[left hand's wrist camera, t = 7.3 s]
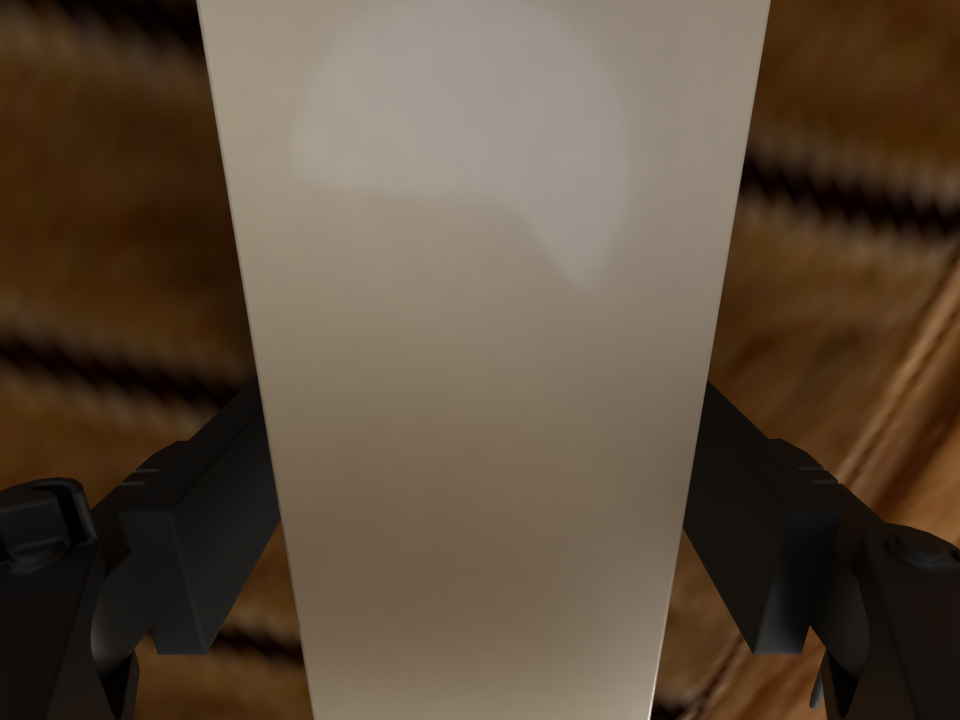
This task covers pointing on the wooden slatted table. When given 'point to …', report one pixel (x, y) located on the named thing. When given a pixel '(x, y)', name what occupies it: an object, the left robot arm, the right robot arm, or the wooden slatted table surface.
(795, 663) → the wooden slatted table surface
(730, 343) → the wooden slatted table surface
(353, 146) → the ash beam
